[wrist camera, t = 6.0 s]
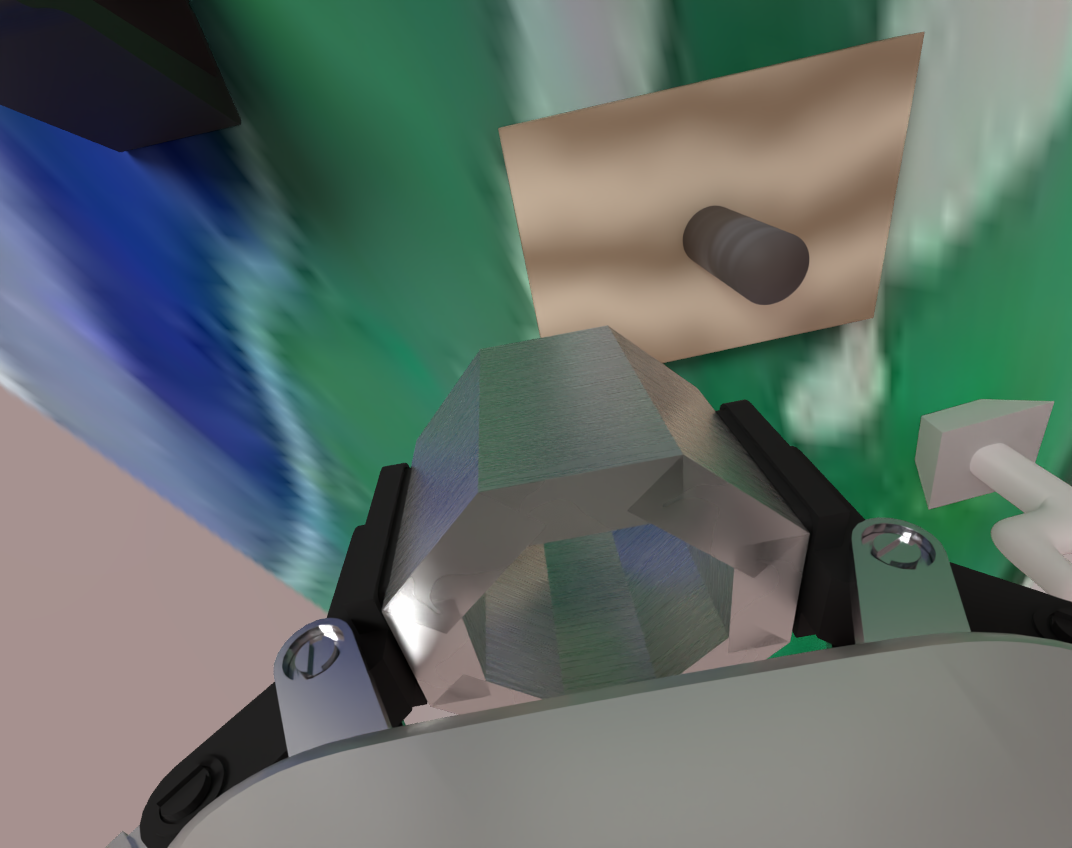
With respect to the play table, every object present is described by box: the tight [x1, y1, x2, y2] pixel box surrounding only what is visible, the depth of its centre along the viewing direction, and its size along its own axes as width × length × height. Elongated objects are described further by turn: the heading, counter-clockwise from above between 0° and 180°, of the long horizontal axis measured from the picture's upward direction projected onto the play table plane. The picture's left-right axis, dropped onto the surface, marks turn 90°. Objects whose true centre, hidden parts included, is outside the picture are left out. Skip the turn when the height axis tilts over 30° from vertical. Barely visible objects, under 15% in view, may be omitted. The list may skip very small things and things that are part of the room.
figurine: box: [915, 399, 1072, 602], centre depth 32 cm, size 7×9×15 cm
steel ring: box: [382, 325, 810, 715], centre depth 11 cm, size 7×7×5 cm
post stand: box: [498, 32, 924, 363], centre depth 25 cm, size 14×20×9 cm
